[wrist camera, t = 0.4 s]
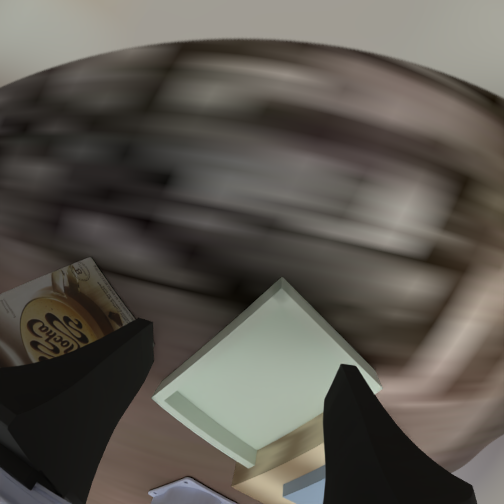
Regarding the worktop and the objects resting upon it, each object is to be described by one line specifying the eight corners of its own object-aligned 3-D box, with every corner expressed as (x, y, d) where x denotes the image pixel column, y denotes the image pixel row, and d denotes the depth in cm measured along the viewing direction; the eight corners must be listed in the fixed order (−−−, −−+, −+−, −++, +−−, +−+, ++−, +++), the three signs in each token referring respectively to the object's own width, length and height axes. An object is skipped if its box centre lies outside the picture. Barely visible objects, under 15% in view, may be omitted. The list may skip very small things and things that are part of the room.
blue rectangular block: (323, 504, 21) (324, 515, 19) (283, 484, 20) (282, 497, 19) (404, 462, 19) (408, 474, 17) (371, 437, 18) (375, 451, 17)
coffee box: (159, 343, 23) (43, 494, 7) (114, 371, 24) (12, 491, 8) (91, 252, 22) (-80, 328, 6) (55, 292, 23) (-80, 369, 8)
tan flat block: (306, 496, 26) (307, 522, 22) (237, 457, 25) (231, 486, 21) (405, 443, 23) (415, 470, 19) (346, 392, 22) (353, 424, 18)
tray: (251, 449, 24) (248, 468, 22) (161, 381, 24) (151, 398, 21) (375, 370, 21) (382, 388, 19) (282, 276, 21) (281, 288, 18)
